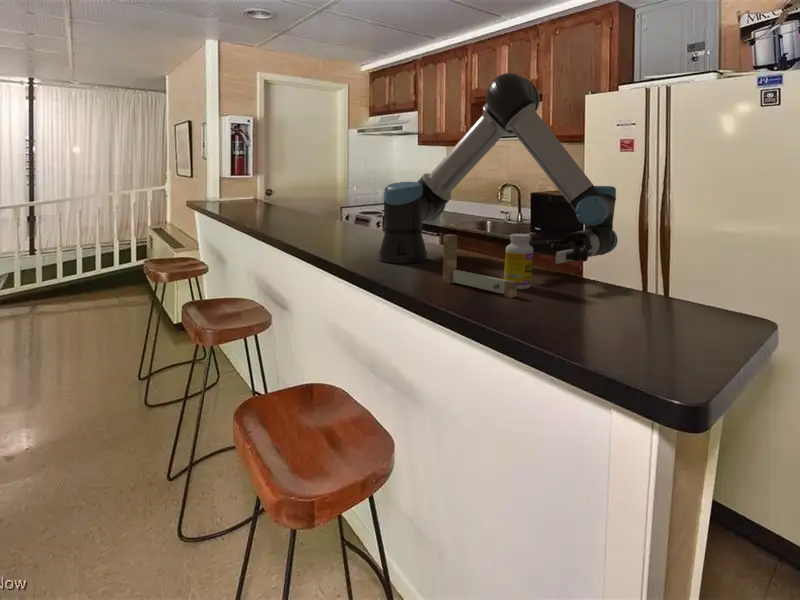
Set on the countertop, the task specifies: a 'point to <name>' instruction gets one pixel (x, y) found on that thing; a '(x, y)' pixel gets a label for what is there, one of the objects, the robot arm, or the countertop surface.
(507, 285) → the wooden post frame
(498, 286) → the bar
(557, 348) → the countertop surface
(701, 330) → the countertop surface
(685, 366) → the countertop surface
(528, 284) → the supplement bottle
